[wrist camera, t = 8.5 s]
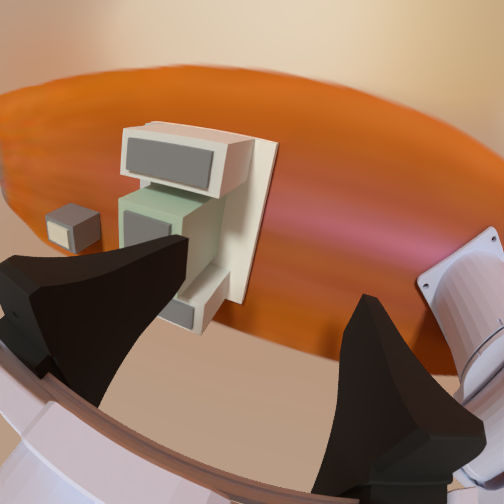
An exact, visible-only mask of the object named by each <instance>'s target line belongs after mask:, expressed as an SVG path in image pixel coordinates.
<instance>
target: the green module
mask: <svg viewBox="0 0 504 504" xmlns="http://www.w3.org/2000/svg"><path fill="white" fill-rule="evenodd" d="M226 195H227V194H225V195H224V196H222V197H221V198H219V199H218V198H214V197H211V196H207V195H203V194H199V193H195V192H191V191H188V190H184V189H180V188H176V187H172V186H168V185H164V184H160V183H154V184H151V185H149V186H146V187H144V188H142V189H139V190H137V191H135V192H132V193H130V194H128V195H126V196H123V197H121V198H119V247H120V248H124V247H128V246H132V245H136V244H139V243H143V242H146V241H150V240H153V239H157V238H161V237H164V236H168V235H174V234H178V235H181V236H184V237H187V238H189V246H188V257H187V270H186V280H185V281H184V283H183V284H182V286H181V287H180V289H179V290H178V292H177V293H176V295H175V296H174V298H175V299H178V298H179V297H180V296H181V294H182V293H183V292H184V291H185V290H186V289H187V288H188V286H189V285H190V284H191V283H192V282H193V281H194V280H195V278H196V277H197V276H198V275H199V274H200V273H201V272H202V271H203V269H204V268H205V267H206V266H207V265H208V264H209V263H210V262H211V260H212V259H213V258H214V257H215V256H216V255H217V251H218V244H219V238H220V232H221V225H222V219H223V213H224V207H225V201H226Z"/></svg>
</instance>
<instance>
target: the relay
mask: <svg viewBox="0 0 504 504" xmlns="http://www.w3.org/2000/svg"><path fill="white" fill-rule="evenodd" d="M45 218H46V226H47V233H48V239H49V241H51V242H53V243H55V244H57V245H58V246H60V247H62V248H64V249H66V250H68V251H70V252H72V253H74V254H77V253H79V252H80V251H82V250H84V249H85V248H87V247H88V246H90V245H92V244H93V243H95V242H96V241H98V240H100V239H101V229H100V213H99V212H96V211H93V210H90V209H87V208H84V207H82V206H79V205H76V204H73V203H69V204H67V205H65V206H63V207H61V208H59V209H56V210H54V211H52V212H50V213H48V214H46V215H45Z"/></svg>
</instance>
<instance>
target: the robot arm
mask: <svg viewBox="0 0 504 504" xmlns="http://www.w3.org/2000/svg"><path fill="white" fill-rule="evenodd" d="M492 237H494V239H493V240H492ZM188 246H189V238H187V237H184V236H181V235H178V234H174V235H168V236H164V237H161V238H157V239H153V240H150V241H146V242H143V243H139V244H136V245H132V246H128V247H124V248H120V249H116V250H112V251H107V252H102V253H96V254H90V255H82V256H71V257H30V256H19V255H14V256H11V257H9V258H8V259H6V260H5V261H3V262H2V263H0V304H1V307H2V310H3V312H4V314H5V316H3V317H2V318H1V319H0V413H1V415H2V416H3V417H4V418H5V419H6V420H7V422H8V423H9V424H10V425H11V426H12V427H13V428H14V429H15V430H16V431H17V433H18V434H19V435H20V436H21V439H22V441H21V442H20V443H19V444H18V446H17V447H16V448H15V450H14V451H13V452H12V453H11V455H10V456H9V457H8V458H7V460H6V461H5V462H4V463H3V465H2V466H1V467H0V504H238V503H235V502H233V501H236V502H240V503H243V504H504V252H503V249H502V246H501V243H500V240H499V237H498V234H497V231H496V229H495V228H494V227H488V228H487V229H486V230H485V231H483V232H482V233H481V234H479V235H478V236H477V237H475V238H474V239H473V240H471V241H470V242H468V243H467V244H466V245H464V246H463V247H461V248H460V249H459V250H457V251H456V252H454V253H453V254H451V255H450V256H449V257H447V258H446V259H444V260H443V261H441V262H440V263H438V264H437V265H435V266H434V267H432V268H431V269H429V270H427V271H426V272H424V273H423V274H421V275H420V276H419V277H418V278H417V283H418V286H419V288H420V289H421V291H422V293H423V295H424V297H425V299H426V300H427V302H428V304H429V306H430V308H431V310H432V312H433V314H434V316H435V318H436V320H437V322H438V324H439V326H440V328H441V330H442V332H443V334H444V336H445V339H446V341H447V343H448V345H449V347H450V349H451V353H452V356H453V359H454V363H455V366H456V369H457V373H458V377H459V381H460V387H459V389H458V390H457V391H456V392H455V393H454V395H453V396H454V398H453V397H452V396H450V395H449V394H448V393H447V392H446V391H445V390H444V389H443V388H442V387H441V386H440V385H439V384H438V383H437V381H436V380H435V379H434V378H433V377H432V376H431V375H430V374H429V373H428V372H427V370H426V369H425V368H424V367H423V365H422V364H421V363H420V362H419V360H418V359H417V358H416V357H415V355H414V354H413V352H412V351H411V350H410V348H409V347H408V345H407V344H406V342H405V341H404V339H403V338H402V336H401V335H400V333H399V332H398V330H397V328H396V327H395V325H394V324H393V322H392V320H391V319H390V317H389V315H388V314H387V312H386V311H385V309H384V307H383V306H382V304H381V303H380V301H379V300H378V299H377V298H376V297H373V296H369V295H366V294H363V295H362V297H361V299H360V301H359V303H358V305H357V307H356V309H355V311H354V313H353V315H352V317H351V319H350V321H349V323H348V324H347V326H346V328H345V330H344V333H343V338H342V344H341V350H340V362H339V381H338V396H337V405H336V411H335V416H334V421H333V425H332V429H331V433H330V437H329V441H328V445H327V448H326V452H325V455H324V458H323V461H322V464H321V467H320V470H319V473H318V475H317V478H316V481H315V483H314V486H313V488H312V491H311V493H306V492H300V491H295V490H290V489H286V488H281V487H277V486H273V485H269V484H265V483H261V482H258V481H254V480H251V479H247V478H244V477H240V476H237V475H234V474H231V473H228V472H225V471H222V470H220V469H217V468H214V467H211V466H209V465H206V464H204V463H201V462H198V461H196V460H194V459H191V458H189V457H187V456H184V455H182V454H180V453H177V452H175V451H173V450H171V449H169V448H167V447H165V446H163V445H160V444H158V443H156V442H154V441H153V440H151V439H149V438H147V437H145V436H143V435H141V434H139V433H137V432H136V431H134V430H132V429H130V428H128V427H127V426H125V425H123V424H122V423H120V422H118V421H117V420H115V419H113V418H112V417H110V416H109V415H107V414H105V413H104V412H102V411H101V410H99V409H98V407H99V405H100V402H101V400H102V398H103V396H104V394H105V392H106V390H107V388H108V386H109V385H110V383H111V381H112V379H113V377H114V375H115V374H116V372H117V370H118V368H119V367H120V365H121V364H122V362H123V360H124V359H125V357H126V355H127V354H128V352H129V351H130V349H131V348H132V346H133V345H134V343H135V342H136V341H137V339H138V338H139V336H140V335H141V334H142V333H143V331H144V330H145V329H146V328H147V327H148V326H149V324H150V323H151V322H152V321H153V320H154V319H155V318H156V317H157V316H158V314H159V313H160V312H161V311H162V310H163V309H164V308H165V307H166V306H167V304H168V303H169V302H170V301H171V300H172V299H173V298H174V296H175V295H176V293H177V292H178V290H179V289H180V287H181V286H182V284H183V283H184V281H185V280H186V270H187V257H188ZM424 284H428V285H427V286H426V287H423V285H424ZM453 476H454V477H455V479H456V480H457V481H458V482H459V483H461V484H462V485H463V486H464V487H465V488H462V489H456V490H452V491H449V492H447V485H448V484H451V483H452V481H453ZM231 500H233V501H231Z"/></svg>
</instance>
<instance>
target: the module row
mask: <svg viewBox="0 0 504 504" xmlns="http://www.w3.org/2000/svg"><path fill="white" fill-rule="evenodd" d="M278 145H279V143H278V142H273V141H269V140H265V139H260V138H256V137H251V136H246V135H241V134H236V133H231V132H226V131H221V130H215V129H209V128H203V127H197V126H190V125H183V124H175V123H167V122H159V121H154V122H151V123H145V126H138V127H130V128H123V139H122V153H121V172H120V174H121V175H126V176H130V177H134V178H139V179H140V189H142V188H144V187H146V186H149V185H151V184H154V183H160V184H164V185H168V186H172V187H176V188H180V189H184V190H188V191H191V192H195V193H199V194H203V195H207V196H211V197H214V198H218V199H219V198H221V197H222V196H224V195H225V194H227V195H226V201H225V207H224V213H223V219H222V225H221V232H220V238H219V244H218V251H217V255H216V256H215V257H214V258H213V259H212V260H211V262H210V263H209V264H208V265H207V266H206V267H205V268H204V269H203V271H202V272H201V273H200V274H199V275H198V276H197V277H196V278H195V280H194V281H193V282H192V283H191V284H190V285H189V286H188V288H187V289H186V290H185V291H184V292H183V293H182V294H181V296H180V297H179V298H178V299H175V298H173V299H172V300H171V301H170V302H169V303H168V304H167V306H166V307H165V308H164V309H163V310H162V311H161V312H160V313H159V314H158V316H157V317H159V318H161V319H163V320H165V321H167V322H170V323H172V324H174V325H177V326H179V327H182V328H184V329H186V330H189V331H191V332H194V333H196V334H199V335H202V334H203V332H204V330H205V329H206V327H207V326H208V324H209V323H210V321H211V320H212V318H213V317H214V315H215V313H216V312H217V310H218V309H219V307H220V306H221V304H222V303H223V301H224V300H225V299H228V300H231V301H233V302H236V303H239V304H242V302H243V300H244V298H245V294H246V289H247V285H248V280H249V276H250V271H251V267H252V262H253V258H254V253H255V249H256V244H257V240H258V236H259V231H260V227H261V222H262V218H263V213H264V209H265V204H266V200H267V195H268V191H269V186H270V182H271V177H272V173H273V168H274V164H275V159H276V154H277V150H278Z"/></svg>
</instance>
